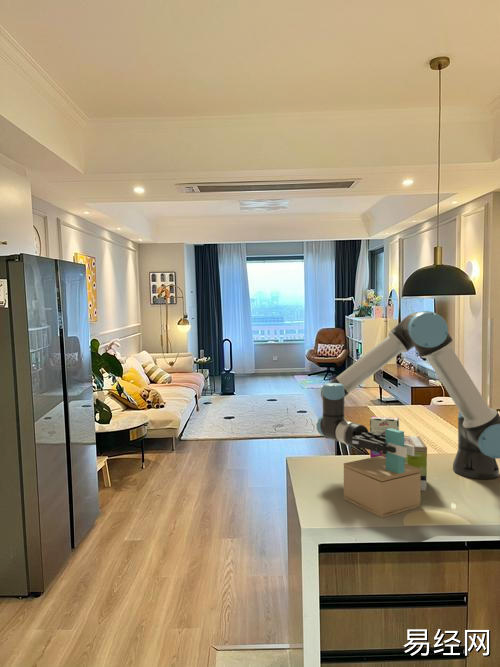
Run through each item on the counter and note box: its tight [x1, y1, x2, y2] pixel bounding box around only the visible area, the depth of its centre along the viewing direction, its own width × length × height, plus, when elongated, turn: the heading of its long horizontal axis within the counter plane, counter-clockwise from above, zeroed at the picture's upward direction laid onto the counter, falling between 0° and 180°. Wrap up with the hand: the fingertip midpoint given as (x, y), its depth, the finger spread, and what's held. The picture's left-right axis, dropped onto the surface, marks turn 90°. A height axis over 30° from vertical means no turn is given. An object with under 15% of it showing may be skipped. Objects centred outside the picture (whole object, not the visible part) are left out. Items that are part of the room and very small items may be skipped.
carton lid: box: [343, 428, 421, 481], centre depth 137 cm, size 16×16×13 cm
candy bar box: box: [369, 416, 400, 458], centre depth 182 cm, size 11×5×16 cm, turn 68°
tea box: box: [404, 435, 428, 492], centre depth 154 cm, size 15×10×15 cm, turn 168°
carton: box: [343, 466, 421, 518], centre depth 137 cm, size 16×16×10 cm
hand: (409, 451), depth 127 cm, fingers closed on carton lid, 2 cm apart
